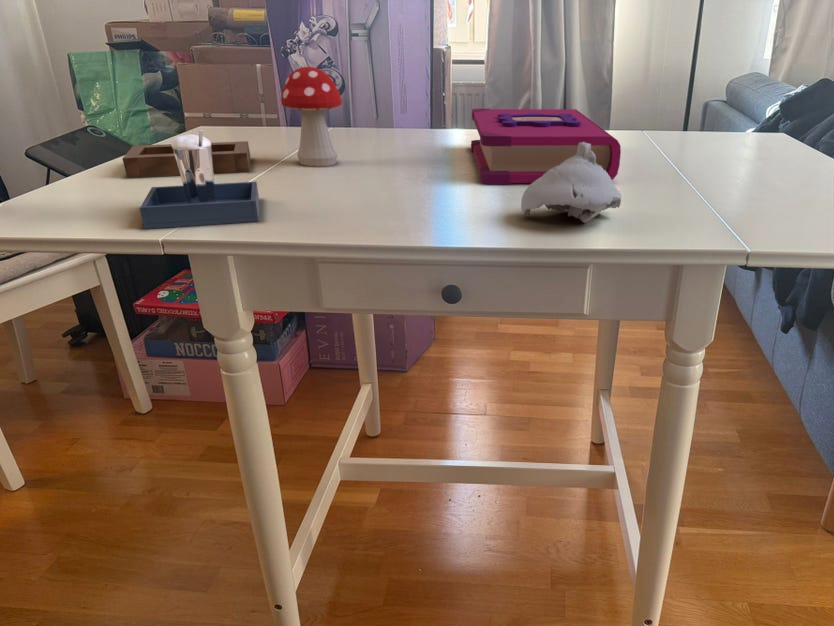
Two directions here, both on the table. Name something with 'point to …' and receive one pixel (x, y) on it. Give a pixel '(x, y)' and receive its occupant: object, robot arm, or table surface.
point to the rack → (164, 162)
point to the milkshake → (195, 167)
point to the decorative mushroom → (312, 113)
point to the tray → (200, 206)
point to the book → (536, 143)
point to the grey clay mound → (573, 187)
